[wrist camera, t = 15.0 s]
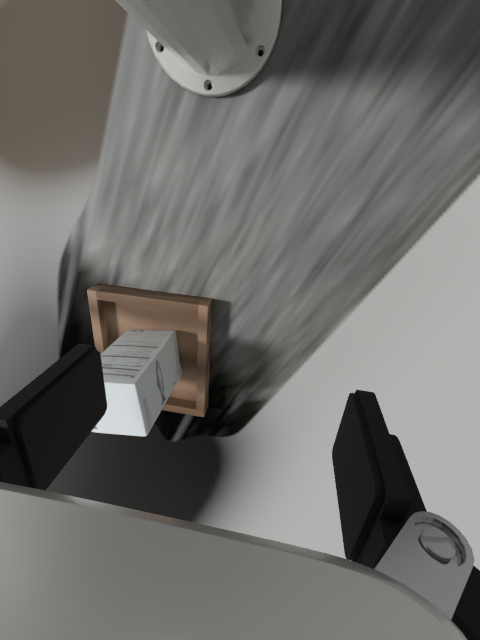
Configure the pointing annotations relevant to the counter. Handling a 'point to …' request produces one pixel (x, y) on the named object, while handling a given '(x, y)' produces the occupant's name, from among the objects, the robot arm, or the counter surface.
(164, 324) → the walnut tray
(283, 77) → the counter surface
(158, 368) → the supplement box
